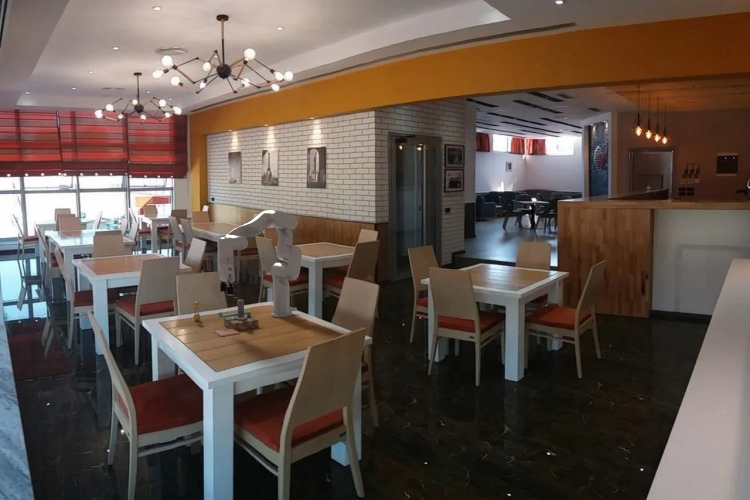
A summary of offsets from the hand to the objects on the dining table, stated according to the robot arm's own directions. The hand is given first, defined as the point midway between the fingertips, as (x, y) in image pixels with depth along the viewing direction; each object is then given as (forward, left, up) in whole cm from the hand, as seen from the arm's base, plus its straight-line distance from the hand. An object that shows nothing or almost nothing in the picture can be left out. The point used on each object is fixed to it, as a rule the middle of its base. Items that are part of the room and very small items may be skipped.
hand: (226, 292), depth 304 cm
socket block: (-9, -3, -20) cm, 22 cm away
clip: (-7, -6, -15) cm, 17 cm away
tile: (+3, +6, -20) cm, 21 cm away
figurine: (+7, -27, -20) cm, 34 cm away
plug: (-9, -3, -20) cm, 22 cm away
